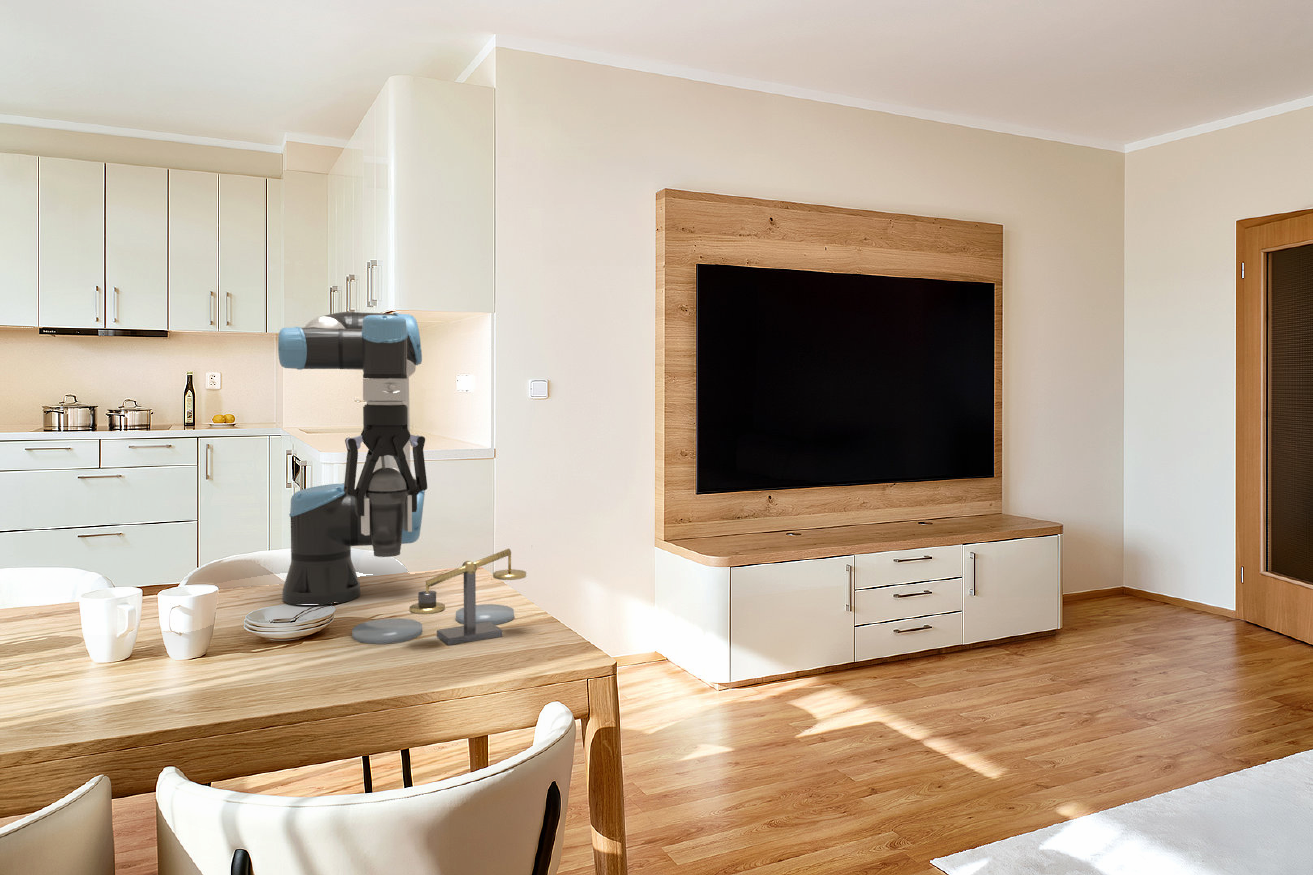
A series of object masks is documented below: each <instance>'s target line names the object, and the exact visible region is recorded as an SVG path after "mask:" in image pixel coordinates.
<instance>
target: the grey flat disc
mask: <svg viewBox="0 0 1313 875" xmlns="http://www.w3.org/2000/svg"><path fill="white" fill-rule="evenodd" d="M351 632H352V635H351V636H352V640H354V641H357V642H359V643H363V644H368V645H369V644H371V645H388V644H389V645H390V644H396V643H403V642H407V641H411V640H413V639H415V638H418V637H420V636H421V635H422V634H423V624H422V623H421V621H419V620H415V619H411V618H404V617H403V618H400V617H399V618H398V617H395V618H392V617H391V618H380V619H373V620H368V621H365V622H362V623H358V624H357V625H355V626H353V627H352V630H351Z"/></svg>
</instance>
